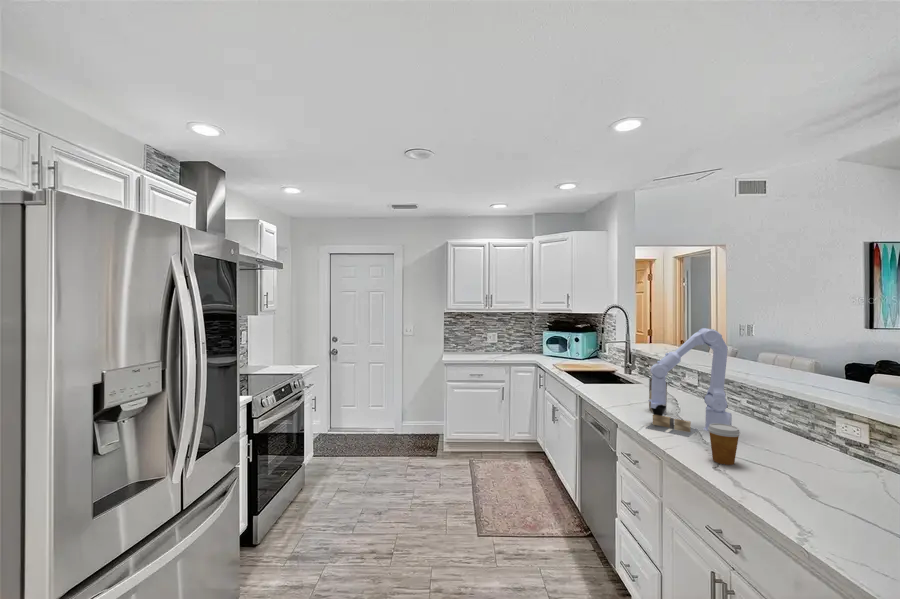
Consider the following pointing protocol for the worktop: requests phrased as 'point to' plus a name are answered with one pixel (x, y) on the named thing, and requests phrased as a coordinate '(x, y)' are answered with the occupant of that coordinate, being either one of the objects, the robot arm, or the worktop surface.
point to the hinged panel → (663, 421)
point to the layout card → (671, 430)
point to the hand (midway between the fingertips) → (658, 421)
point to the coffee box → (650, 397)
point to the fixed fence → (682, 425)
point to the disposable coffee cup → (723, 442)
